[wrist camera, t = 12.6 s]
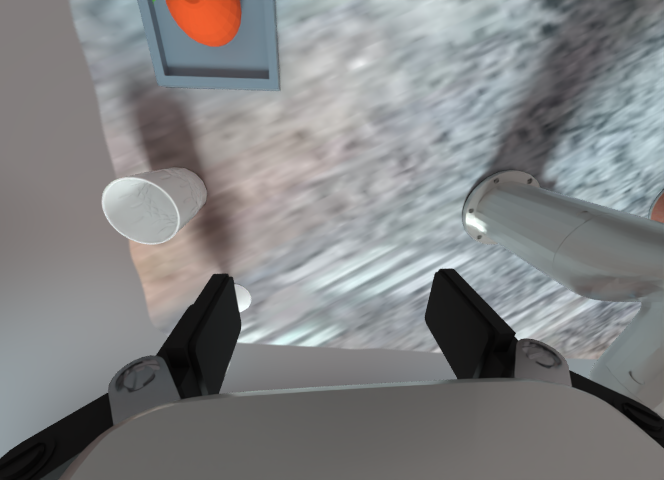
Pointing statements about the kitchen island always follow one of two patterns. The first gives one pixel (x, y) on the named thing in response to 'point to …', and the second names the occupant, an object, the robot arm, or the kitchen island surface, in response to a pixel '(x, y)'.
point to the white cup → (153, 203)
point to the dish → (214, 50)
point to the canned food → (657, 208)
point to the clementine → (207, 19)
